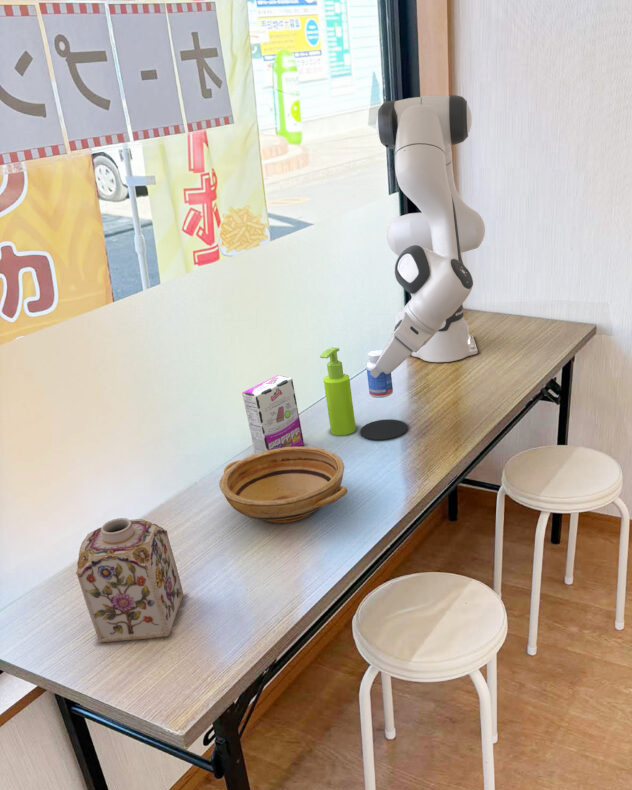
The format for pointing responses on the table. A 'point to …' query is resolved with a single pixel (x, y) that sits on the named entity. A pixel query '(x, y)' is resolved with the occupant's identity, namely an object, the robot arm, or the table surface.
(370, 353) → the pill bottle
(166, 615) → the decorative jar
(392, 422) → the coaster
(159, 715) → the table surface
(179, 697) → the table surface
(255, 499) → the ceramic bowl
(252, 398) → the candy bar box
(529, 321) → the table surface
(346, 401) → the lime green pump bottle
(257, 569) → the table surface
